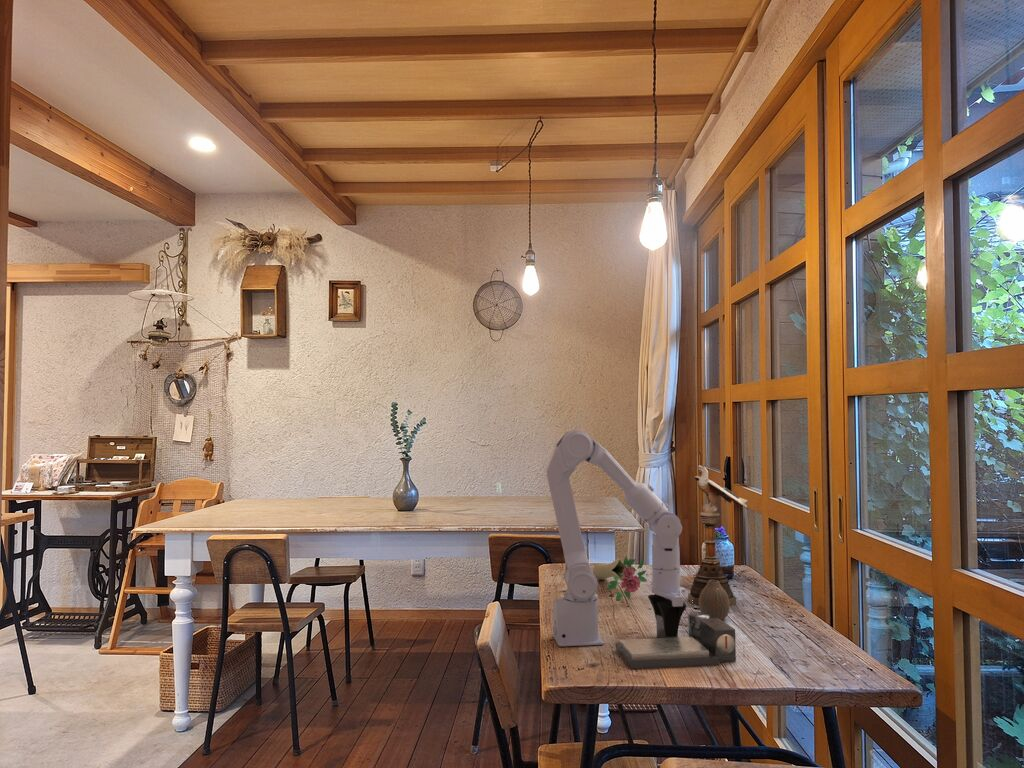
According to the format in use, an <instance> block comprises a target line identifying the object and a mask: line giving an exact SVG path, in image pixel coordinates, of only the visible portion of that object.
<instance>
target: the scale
mask: <svg viewBox="0 0 1024 768" xmlns="http://www.w3.org/2000/svg"><path fill="white" fill-rule="evenodd" d="M615 651H616V652H617V653H618V655H619V656H620V658H621V659H622V660H623V661H624V662H625V664H626V665H627V666H628V668H630V670H640V669H641V670H642V669H643V670H645V669H663V668H665V669H666V668H683V667H685V668H687V667H701V666H703V667H704V666H707V667H708V666H719V665H720V663H730V662H731V663H732V662H734V663H735V662H736V661H737V647H736V629H735V628H733V626H731V625H729V624H728V623H726V622H725V621H724V620H720V619H719V618H713V619H700V641H699V640H698V639H694V638H693V637H689V636H681V637H680V636H678V637H674V638H657V637H655V638H630V639H619V642H615Z"/></svg>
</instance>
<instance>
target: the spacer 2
mask: <svg viewBox="0 0 1024 768" xmlns="http://www.w3.org/2000/svg"><path fill="white" fill-rule="evenodd" d="M687 616H688V617H687V623H688V627H687V628H688V637H693V638H694V639H698V640H699V641H700V619H710V615H709V614H707V613H703V612H701V611H693V612H692V611H691V612H689V613H688V614H687Z"/></svg>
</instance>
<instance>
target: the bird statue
mask: <svg viewBox="0 0 1024 768" xmlns="http://www.w3.org/2000/svg"><path fill="white" fill-rule="evenodd" d="M697 469H698V470H699V471H700V472H701V475H700V476H699V475H696V476H694V477H693V478H694V480H696V481H697V486H698V488H699V489H700V490H701V492H703V493H704V494H705V495H706V500H707V503H704V504H703V506H702V507H701V509H702V511H701V512H699V516H700V517H701V518H700V523H701V524H703V525H704V526H703V528H704V533H705V535H704V541H703V542H704V544H705V556H704V557H703V558H702V559H701V561H700V562H701V564H700V566H699V568H698V571H697V573H695V576H694V577H693V582H692V585H691V588H690V591H689V592H688V593H687V594H688V595H687V600H688V599H689V600H690V601H689V600H688V601H689V602H690V604H692V602H693V604H692V605H694V604H696V605H695V606H699V597H700V594H701V592H702V590H703V589H704V587H705V586H706V585H707V583H708V581H709V580H718V581H719V583H720V585H721V586H722V588H723V589H724V590H725V591H726V593H727V595H728V598H729V602H730V607H731V606H735V605H737V596H735V595H734V593H733V591H732V589H731V585H730V583H729V582H730V580H728V578H727V577H728V576H727V575H726V574H725V573H724V571H723V569H722V567H721V561H720V559H718V558H717V556H716V544H717V540H716V527H717V525H718V524H719V522H720V521H719V520H720V519H719V518H720V516H721V513H719V512H718V507H717V503H718V499H719V498H718V497H719V496H720V497H721V498H723V499H724V500H725V501H726V502H727V503H730V504H731V503H732V502H733V503H736V504H739V505H741V506H743V508H744V509H748V506H747V503H748V502H749V501H748V500H747V499H746V498H742V497H739V496H738V495H736V494H735V493H734V492H732V491H731V490H729V489H728V488H727V487H722V486H720V485H718V484H717V483H716V482H715V481H713V480H711V479H709V477H710V475H709V471H708V469H707V467H705V466H703V465H700V464H699V465H697ZM692 600H693V601H692Z"/></svg>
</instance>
